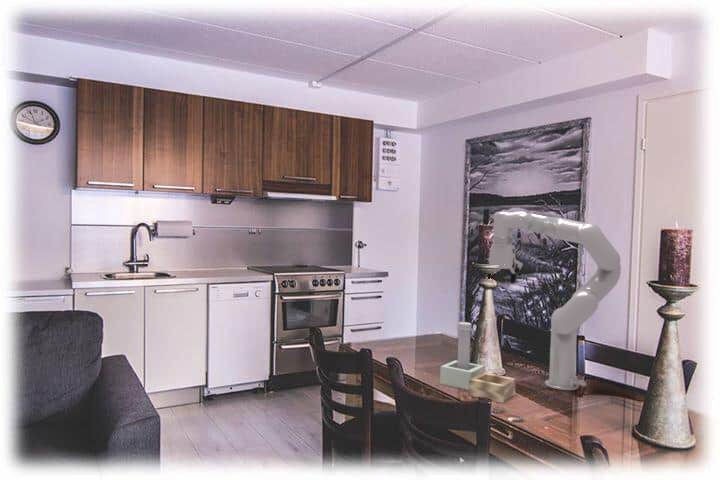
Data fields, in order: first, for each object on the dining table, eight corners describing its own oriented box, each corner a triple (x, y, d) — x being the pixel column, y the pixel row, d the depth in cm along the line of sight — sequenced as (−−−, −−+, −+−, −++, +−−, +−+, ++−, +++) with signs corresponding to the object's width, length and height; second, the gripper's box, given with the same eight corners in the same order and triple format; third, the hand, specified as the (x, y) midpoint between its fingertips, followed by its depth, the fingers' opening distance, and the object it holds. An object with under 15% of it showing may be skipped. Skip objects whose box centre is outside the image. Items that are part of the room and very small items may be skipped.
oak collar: (515, 394, 200) (515, 378, 200) (502, 403, 190) (502, 386, 190) (482, 387, 208) (483, 372, 208) (468, 395, 197) (469, 379, 197)
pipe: (469, 385, 209) (472, 310, 209) (453, 384, 211) (456, 309, 210) (469, 381, 215) (472, 308, 214) (453, 380, 216) (456, 307, 215)
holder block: (484, 383, 214) (484, 365, 214) (470, 390, 203) (471, 372, 203) (454, 376, 222) (455, 360, 221) (440, 383, 211) (440, 366, 211)
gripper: (526, 242, 219) (524, 283, 219) (486, 240, 229) (485, 280, 229) (520, 242, 213) (518, 284, 213) (479, 240, 223) (478, 281, 223)
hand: (501, 282), depth 221 cm, fingers open, 9 cm apart
